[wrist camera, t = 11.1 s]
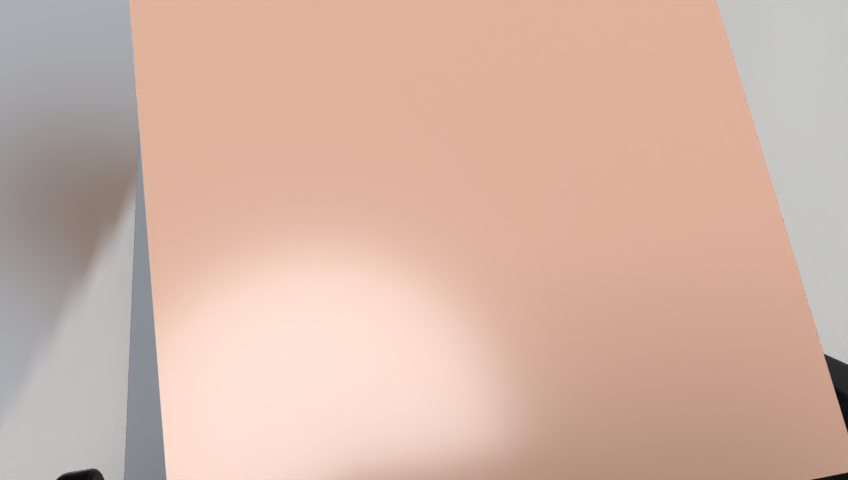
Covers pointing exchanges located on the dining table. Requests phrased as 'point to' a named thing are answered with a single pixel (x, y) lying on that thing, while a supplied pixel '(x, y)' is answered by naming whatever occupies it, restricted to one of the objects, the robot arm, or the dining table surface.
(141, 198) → the mat
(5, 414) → the dining table surface
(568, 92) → the tall salmon pink box
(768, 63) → the dining table surface
